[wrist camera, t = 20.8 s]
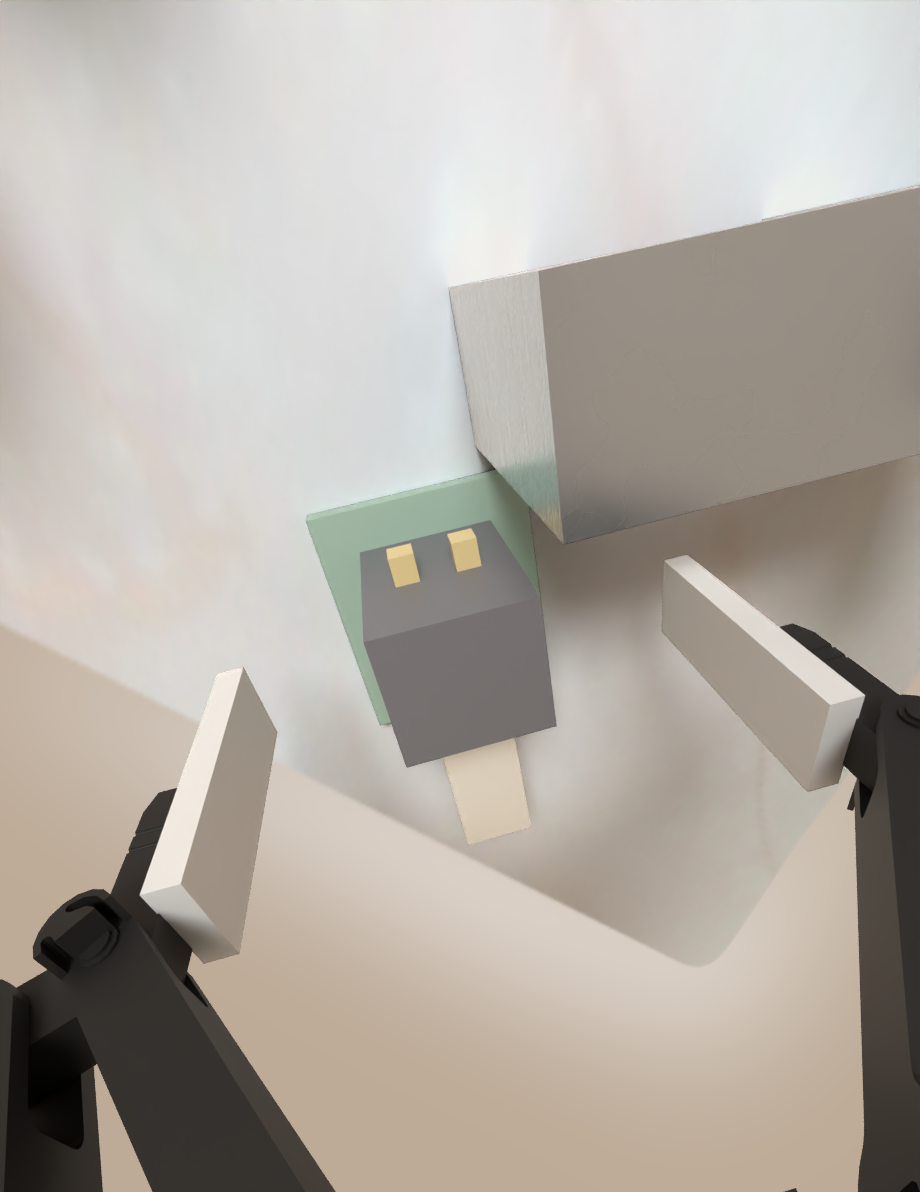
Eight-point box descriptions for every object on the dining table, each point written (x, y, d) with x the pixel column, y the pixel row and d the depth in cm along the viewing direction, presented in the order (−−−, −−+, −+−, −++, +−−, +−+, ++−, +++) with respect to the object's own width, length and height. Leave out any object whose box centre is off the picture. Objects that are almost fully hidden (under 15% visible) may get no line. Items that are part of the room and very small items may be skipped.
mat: (306, 515, 19) (305, 521, 18) (519, 463, 19) (523, 468, 19) (379, 716, 24) (379, 725, 23) (546, 671, 24) (550, 679, 24)
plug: (352, 527, 19) (352, 611, 14) (486, 495, 19) (536, 564, 14) (437, 798, 26) (458, 918, 21) (532, 771, 27) (576, 882, 22)
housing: (449, 287, 16) (664, 247, 5) (930, 182, 17) (1984, -43, 6) (475, 446, 19) (659, 652, 8) (894, 346, 20) (1595, 397, 9)
